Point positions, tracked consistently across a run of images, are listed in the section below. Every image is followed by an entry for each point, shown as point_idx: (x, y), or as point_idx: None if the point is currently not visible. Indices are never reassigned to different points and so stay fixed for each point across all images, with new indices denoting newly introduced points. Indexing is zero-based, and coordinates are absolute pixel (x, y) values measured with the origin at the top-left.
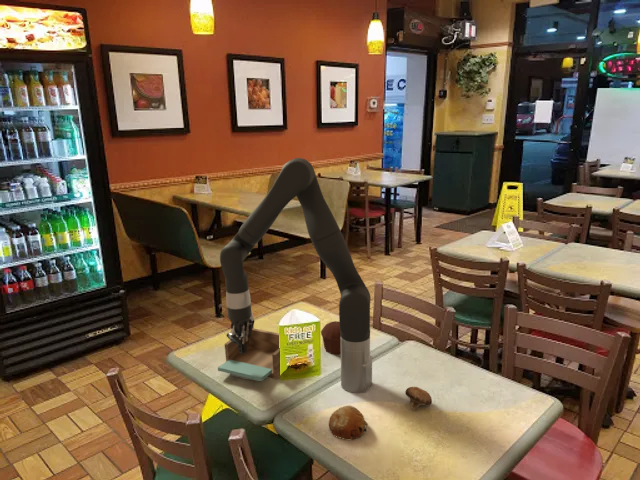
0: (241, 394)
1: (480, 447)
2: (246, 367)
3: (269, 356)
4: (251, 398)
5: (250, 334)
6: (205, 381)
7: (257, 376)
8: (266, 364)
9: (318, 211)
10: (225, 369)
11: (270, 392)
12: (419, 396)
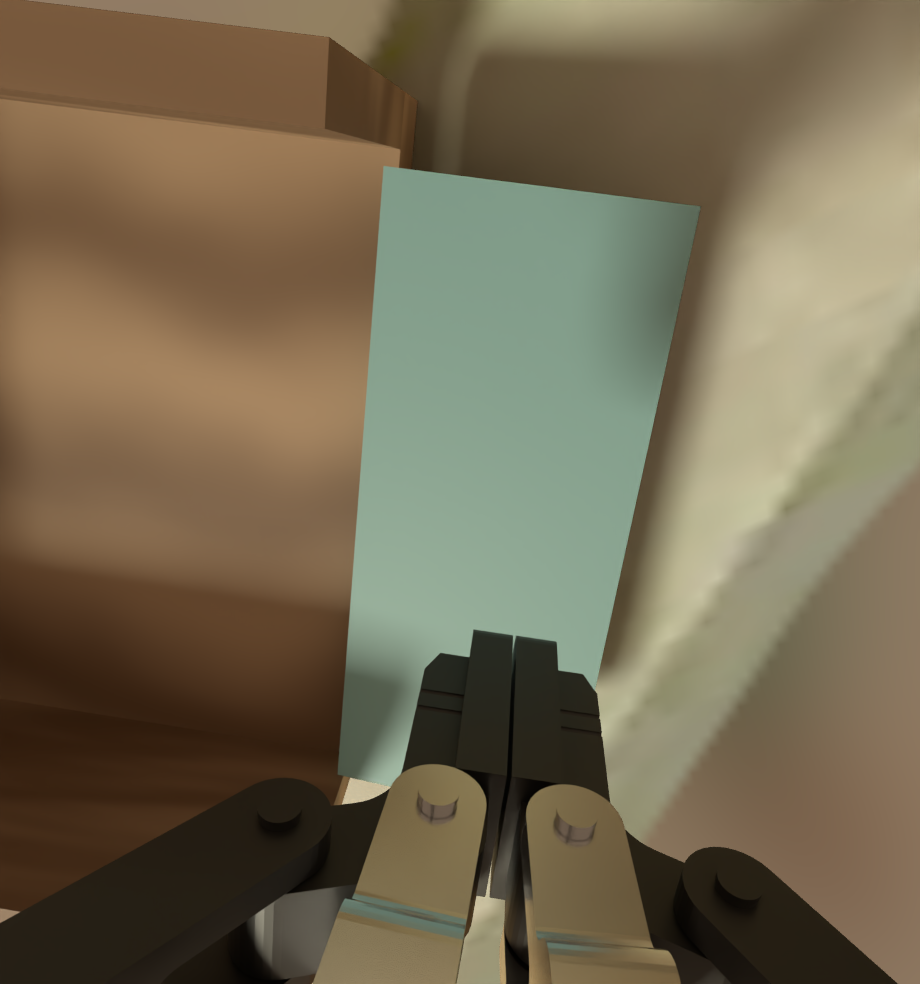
0: (818, 397)
1: None
2: (458, 531)
3: (39, 385)
4: (889, 245)
5: (220, 822)
6: (643, 816)
7: (670, 283)
8: (227, 342)
9: None
10: None
11: (724, 52)
12: None
